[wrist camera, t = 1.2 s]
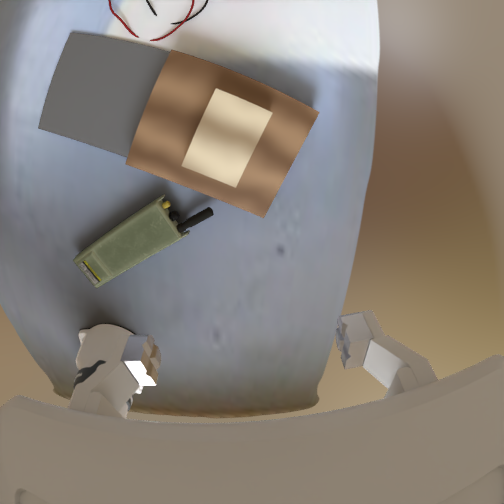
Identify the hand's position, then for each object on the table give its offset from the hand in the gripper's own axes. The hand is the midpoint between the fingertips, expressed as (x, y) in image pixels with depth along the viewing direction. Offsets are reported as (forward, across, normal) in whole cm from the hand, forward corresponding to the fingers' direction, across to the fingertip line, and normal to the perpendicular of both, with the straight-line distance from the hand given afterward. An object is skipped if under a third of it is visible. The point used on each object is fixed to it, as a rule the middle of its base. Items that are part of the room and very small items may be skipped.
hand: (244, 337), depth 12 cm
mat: (+30, +19, -16) cm, 39 cm away
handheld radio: (+28, +16, +11) cm, 34 cm away
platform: (+30, +2, -5) cm, 31 cm away
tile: (+27, +1, -5) cm, 27 cm away
